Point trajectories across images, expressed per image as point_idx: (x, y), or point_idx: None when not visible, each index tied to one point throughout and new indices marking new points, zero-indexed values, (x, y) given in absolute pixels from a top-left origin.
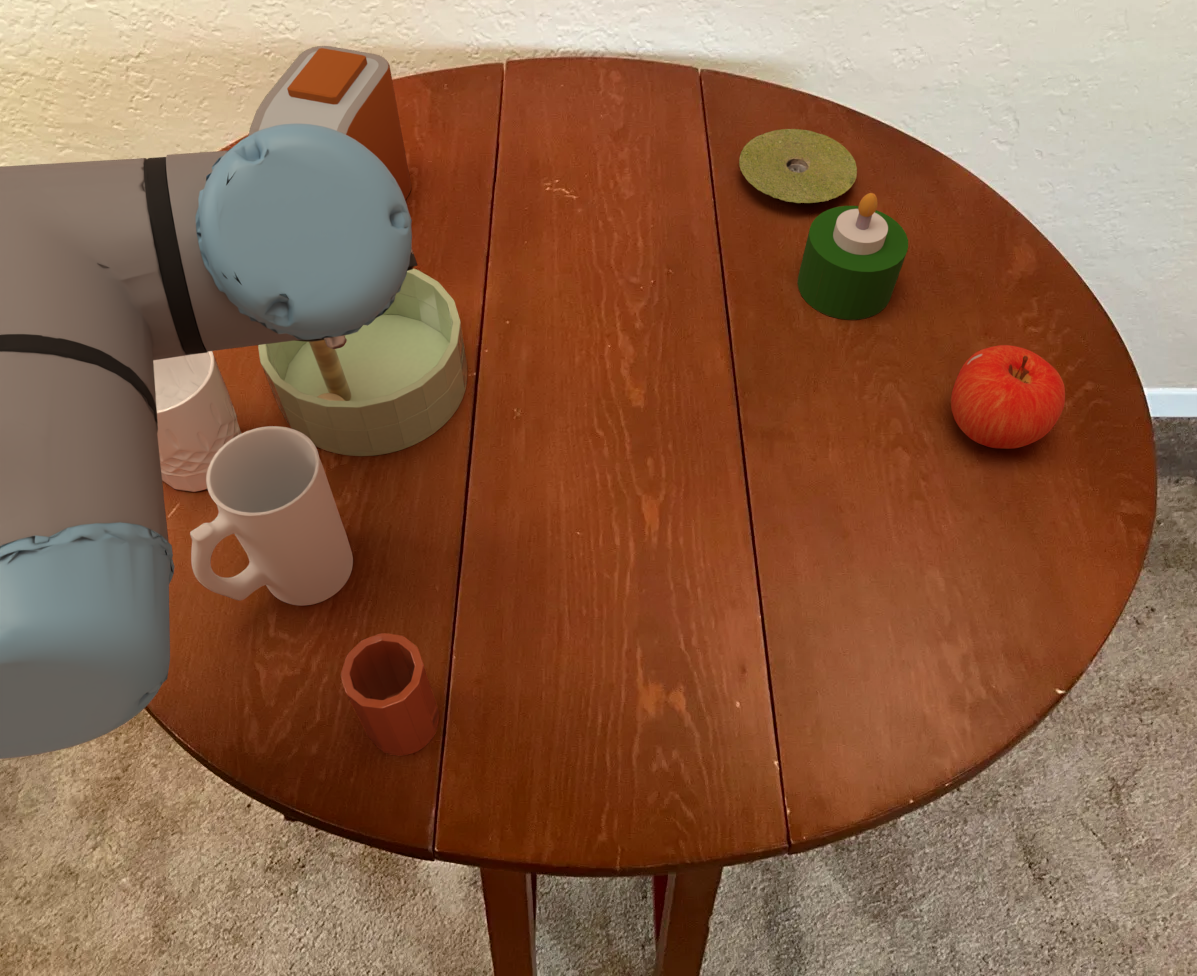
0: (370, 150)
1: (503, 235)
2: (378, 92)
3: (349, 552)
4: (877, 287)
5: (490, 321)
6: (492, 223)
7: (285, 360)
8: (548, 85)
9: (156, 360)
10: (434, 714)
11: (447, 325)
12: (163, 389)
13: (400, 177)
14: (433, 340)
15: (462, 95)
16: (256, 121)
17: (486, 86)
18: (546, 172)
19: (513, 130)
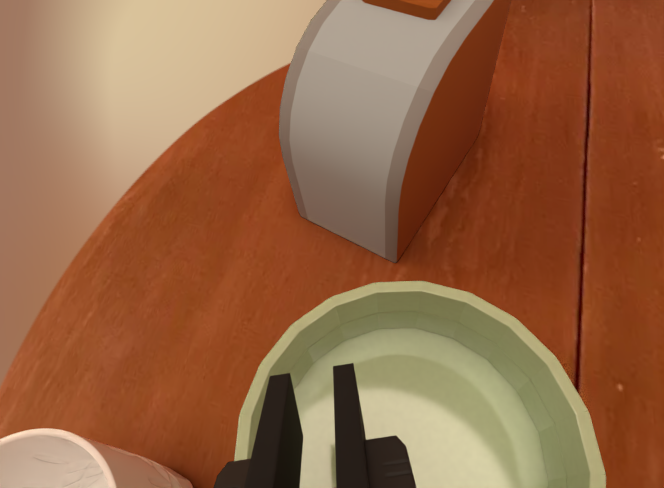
0: (462, 94)
1: (603, 221)
2: (497, 5)
3: None
4: None
5: (590, 378)
6: (586, 199)
7: None
8: (650, 15)
9: (65, 449)
10: None
11: (544, 412)
12: (88, 464)
13: (475, 122)
14: (504, 403)
15: (542, 19)
16: (307, 37)
17: (571, 11)
18: (659, 131)
19: (608, 68)
